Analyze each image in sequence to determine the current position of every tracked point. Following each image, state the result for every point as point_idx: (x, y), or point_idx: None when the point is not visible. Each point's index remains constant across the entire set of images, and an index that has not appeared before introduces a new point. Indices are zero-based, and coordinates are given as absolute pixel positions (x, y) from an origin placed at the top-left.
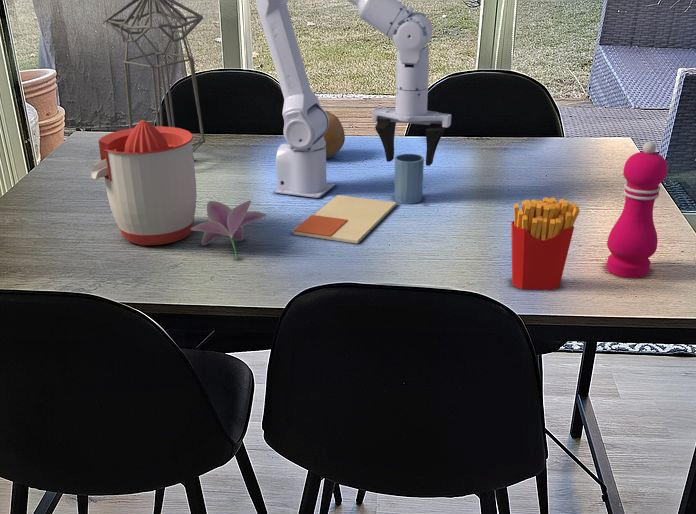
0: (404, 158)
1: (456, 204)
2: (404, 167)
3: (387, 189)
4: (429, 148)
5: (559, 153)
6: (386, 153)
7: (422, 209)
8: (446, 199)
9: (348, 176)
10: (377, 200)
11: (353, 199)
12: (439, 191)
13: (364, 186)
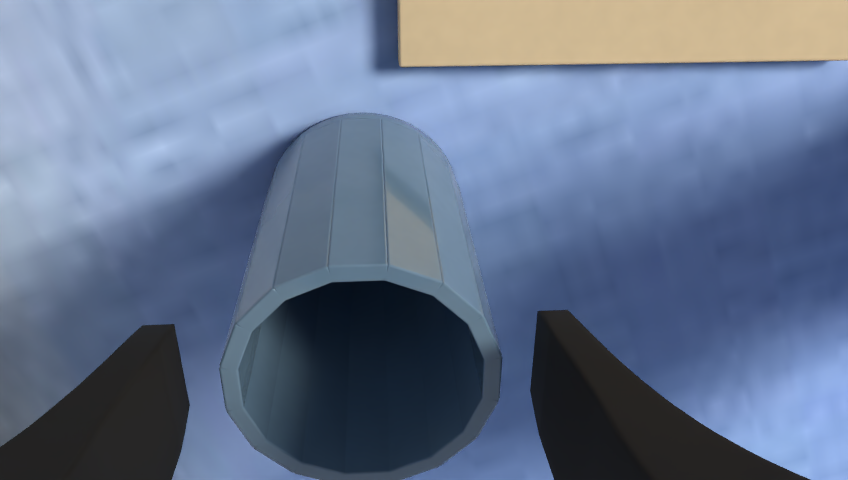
0: (438, 423)
1: (28, 223)
2: (361, 237)
3: None
4: (64, 427)
5: None
6: (591, 343)
7: (190, 51)
8: (133, 281)
9: (821, 416)
10: (542, 52)
11: (722, 9)
12: None
13: (698, 310)
